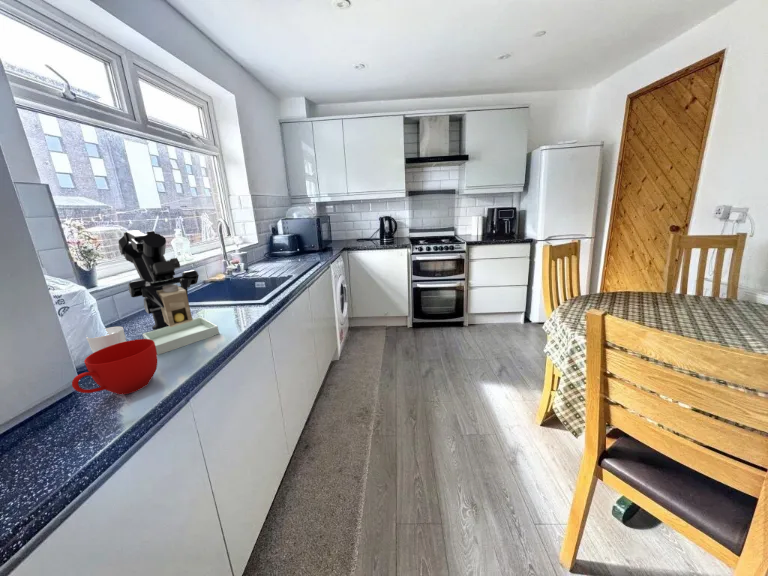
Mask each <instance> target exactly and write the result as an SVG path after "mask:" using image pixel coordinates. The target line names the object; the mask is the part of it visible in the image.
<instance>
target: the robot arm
mask: <svg viewBox="0 0 768 576" xmlns="http://www.w3.org/2000/svg"><path fill="white" fill-rule="evenodd" d="M117 244H118V249H119V253H120V255H121V256H123V257H124V258H125V260H126V261H128V262H129V263H131V264H133V266H134V268H135V270H136V272H137V274H138V275H139V277H140V279H136V280H132V281H129V283H128V292H129V294H130V297H131V298H138V297H142V298H143V307H144V309H145V312H146V313H147V314H148V315H150V314H151V315H152V317H153V320H154V321H153V322H154V325H153V326H152V330H153V329H154V330H156V329H161V328H164V327H168V326H169V325H168V324H167V323H165V321H164V317H163V314H162V310H161V307H162V308H164V305H163V302H162V301H161V299H160V297H159V296H158V294H157V291H158V290H163V286H165V285H170V284H179V285H180V287H181V288H183V289H185V290H186V294H187V298H188V299H189V294H188V293H189V292H188V289H189V288H190V287H191V286H193V285H194V286H195V285H196V284H198V280H199V277H200V275H199V273H198V271H197V270H194V269H192V270H186V271H183V272H182V275H181V276H176V272H175V270H177V269H180V267H181V264H180V261H179V259H178V257H174V258H170V259H169V260H167V259H166V258H165V256H164V255H165V254H166V247H167V246H166V245H167V239H166V237H164V236H163V235H162V234H159V233H155V231H154V230H150V231H149V230H147V231H146V233H145V232H144V233H143V231H141V230H138V229H133V230H125V231H124V232H123V236H122V237H121V238H120V239H119V240H118V243H117ZM175 276H176V277H175Z"/></svg>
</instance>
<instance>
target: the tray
mask: <svg viewBox="0 0 768 576" xmlns="http://www.w3.org/2000/svg"><path fill="white" fill-rule="evenodd" d="M192 320H193V321H191V322H187V323H184V324H181V325H177V326H174V327H170V326H166V327H160V328H156V329H154V330H151V331H148V332H144V333H142V337H143V339H150V340H153V341H154V343H155V346H156V352H157V356H159V355H162V354H164V353H168V352H170V351H174V350H176V349H179V348H183V347H185V346H188V345H191V344H194V343H196V342H199V341H202V340H205V339H209V338H212V337H214V335H215V336H216V334H218V335H220V331H219V330H220V329H219V326H218V325H217V324H215V323H213V322H211V321H209V320H208V319H206V318H204V317H202V316H199V317H195V318H192Z"/></svg>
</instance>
